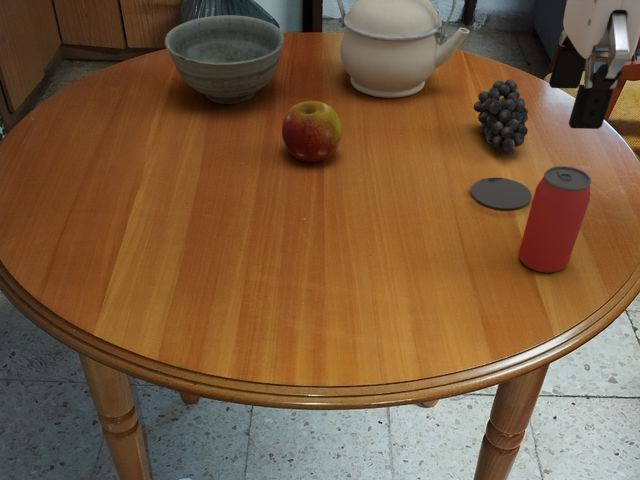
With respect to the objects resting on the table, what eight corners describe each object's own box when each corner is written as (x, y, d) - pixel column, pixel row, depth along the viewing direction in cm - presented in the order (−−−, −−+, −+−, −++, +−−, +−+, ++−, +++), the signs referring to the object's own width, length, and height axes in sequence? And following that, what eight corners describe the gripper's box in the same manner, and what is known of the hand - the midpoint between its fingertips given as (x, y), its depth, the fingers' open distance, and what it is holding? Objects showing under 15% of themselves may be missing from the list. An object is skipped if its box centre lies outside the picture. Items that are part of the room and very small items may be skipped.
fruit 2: (533, 107, 101) (519, 66, 111) (477, 123, 104) (469, 81, 113) (537, 160, 108) (524, 116, 117) (485, 173, 110) (476, 129, 120)
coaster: (525, 180, 105) (525, 178, 105) (535, 211, 99) (536, 208, 99) (467, 179, 105) (467, 176, 105) (474, 210, 99) (475, 207, 99)
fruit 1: (271, 160, 108) (269, 110, 103) (299, 137, 114) (298, 88, 108) (324, 175, 106) (325, 123, 100) (350, 150, 111) (352, 101, 105)
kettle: (316, 92, 126) (317, -70, 108) (350, 57, 138) (357, -94, 119) (446, 115, 120) (470, -52, 102) (470, 77, 132) (497, -79, 113)
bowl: (280, 69, 133) (278, 13, 126) (291, 116, 119) (289, 55, 112) (173, 74, 131) (165, 16, 124) (172, 122, 117) (163, 60, 110)
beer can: (554, 244, 93) (580, 161, 84) (576, 272, 89) (605, 187, 80) (509, 249, 92) (531, 166, 83) (529, 278, 88) (554, 193, 79)
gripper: (710, -69, 52) (632, 145, 65) (644, -116, 64) (589, 74, 77) (613, -71, 53) (554, 144, 65) (565, -118, 64) (523, 73, 77)
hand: (573, 106), depth 71 cm, fingers open, 9 cm apart
